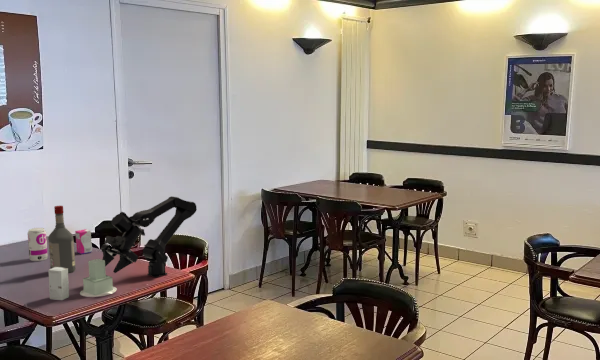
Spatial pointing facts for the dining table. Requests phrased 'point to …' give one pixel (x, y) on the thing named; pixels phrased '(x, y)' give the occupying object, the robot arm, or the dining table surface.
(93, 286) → the cover
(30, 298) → the dining table surface
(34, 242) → the supplement can
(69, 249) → the liquor
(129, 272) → the dining table surface
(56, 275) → the skincare box
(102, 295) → the plate
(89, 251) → the supplement box
